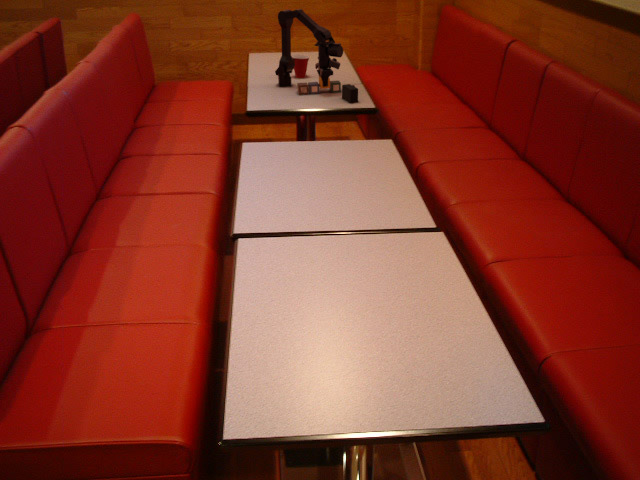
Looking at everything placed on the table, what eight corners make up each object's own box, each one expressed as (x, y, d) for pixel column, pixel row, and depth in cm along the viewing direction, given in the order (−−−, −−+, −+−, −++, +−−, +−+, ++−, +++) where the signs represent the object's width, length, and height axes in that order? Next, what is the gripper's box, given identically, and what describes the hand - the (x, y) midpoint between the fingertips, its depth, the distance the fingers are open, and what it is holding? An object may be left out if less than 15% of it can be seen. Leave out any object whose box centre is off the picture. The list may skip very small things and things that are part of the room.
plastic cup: (313, 77, 367) (313, 56, 361) (298, 80, 362) (297, 58, 356) (303, 73, 375) (303, 52, 369) (288, 76, 370) (287, 55, 364)
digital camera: (360, 102, 320) (360, 88, 316) (350, 103, 318) (350, 89, 315) (351, 97, 328) (351, 83, 325) (342, 98, 326) (342, 84, 323)
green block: (331, 92, 336) (331, 83, 334) (329, 90, 341) (329, 81, 338) (340, 92, 337) (340, 82, 335) (338, 89, 341) (338, 80, 339)
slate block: (310, 94, 334) (309, 84, 332) (308, 91, 339) (308, 82, 337) (319, 93, 335) (319, 84, 333) (317, 91, 340) (317, 81, 337)
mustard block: (320, 88, 334) (320, 79, 332) (318, 86, 339) (318, 76, 336) (330, 88, 335) (329, 78, 333) (328, 85, 340) (328, 76, 337)
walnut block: (299, 94, 333) (298, 85, 331) (297, 92, 338) (297, 83, 336) (308, 94, 334) (308, 84, 332) (306, 91, 339) (306, 82, 336)
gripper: (343, 58, 322) (343, 88, 330) (335, 50, 338) (335, 80, 346) (321, 59, 320) (321, 90, 328) (314, 52, 337) (315, 81, 344)
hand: (324, 85), depth 336 cm, fingers closed on mustard block, 5 cm apart
